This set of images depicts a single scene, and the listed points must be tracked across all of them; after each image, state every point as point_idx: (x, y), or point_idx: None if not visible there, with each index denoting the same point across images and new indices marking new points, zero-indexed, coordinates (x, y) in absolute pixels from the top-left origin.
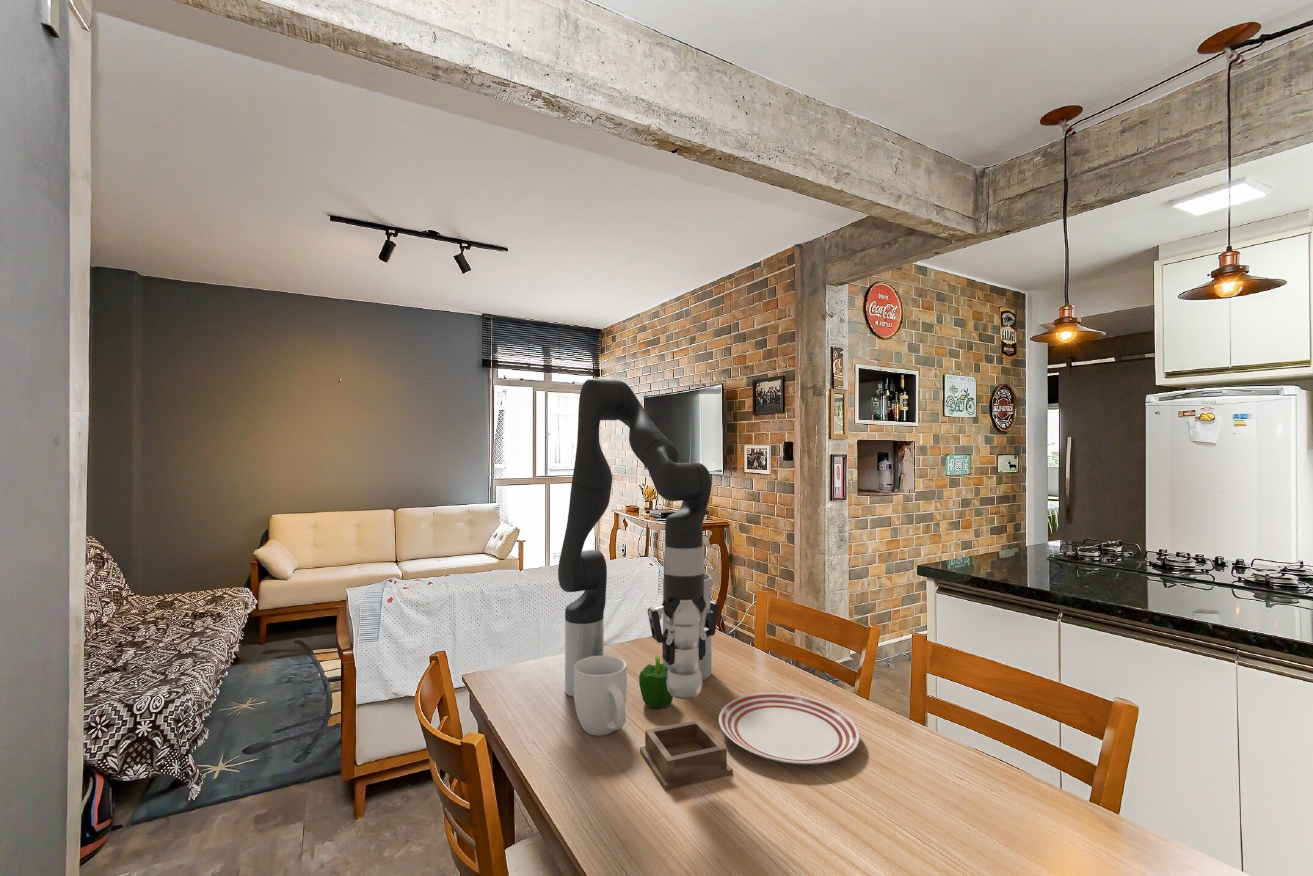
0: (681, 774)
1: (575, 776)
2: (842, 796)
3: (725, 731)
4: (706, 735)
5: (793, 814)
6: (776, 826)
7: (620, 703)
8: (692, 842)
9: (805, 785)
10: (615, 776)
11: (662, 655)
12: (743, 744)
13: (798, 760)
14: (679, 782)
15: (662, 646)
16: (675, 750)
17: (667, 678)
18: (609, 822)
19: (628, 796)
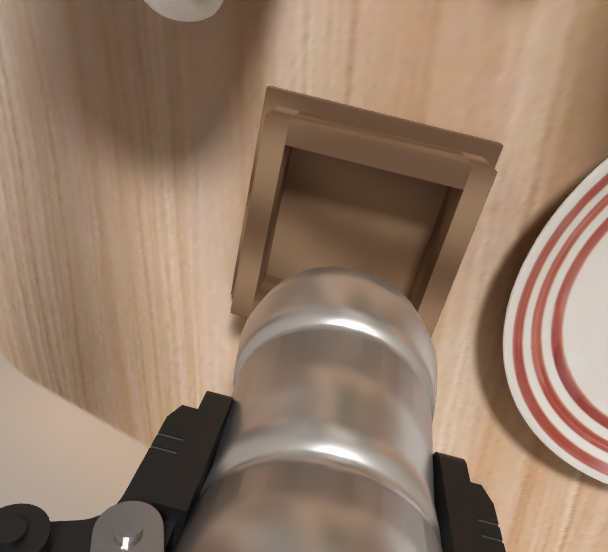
0: None
1: (40, 92)
2: (551, 513)
3: (542, 244)
4: (432, 269)
5: None
6: None
7: (160, 7)
8: None
9: (527, 455)
10: (145, 162)
11: (162, 425)
12: (542, 301)
13: (599, 419)
14: None
15: (133, 477)
16: (357, 175)
17: (239, 345)
18: (74, 302)
19: (144, 255)
